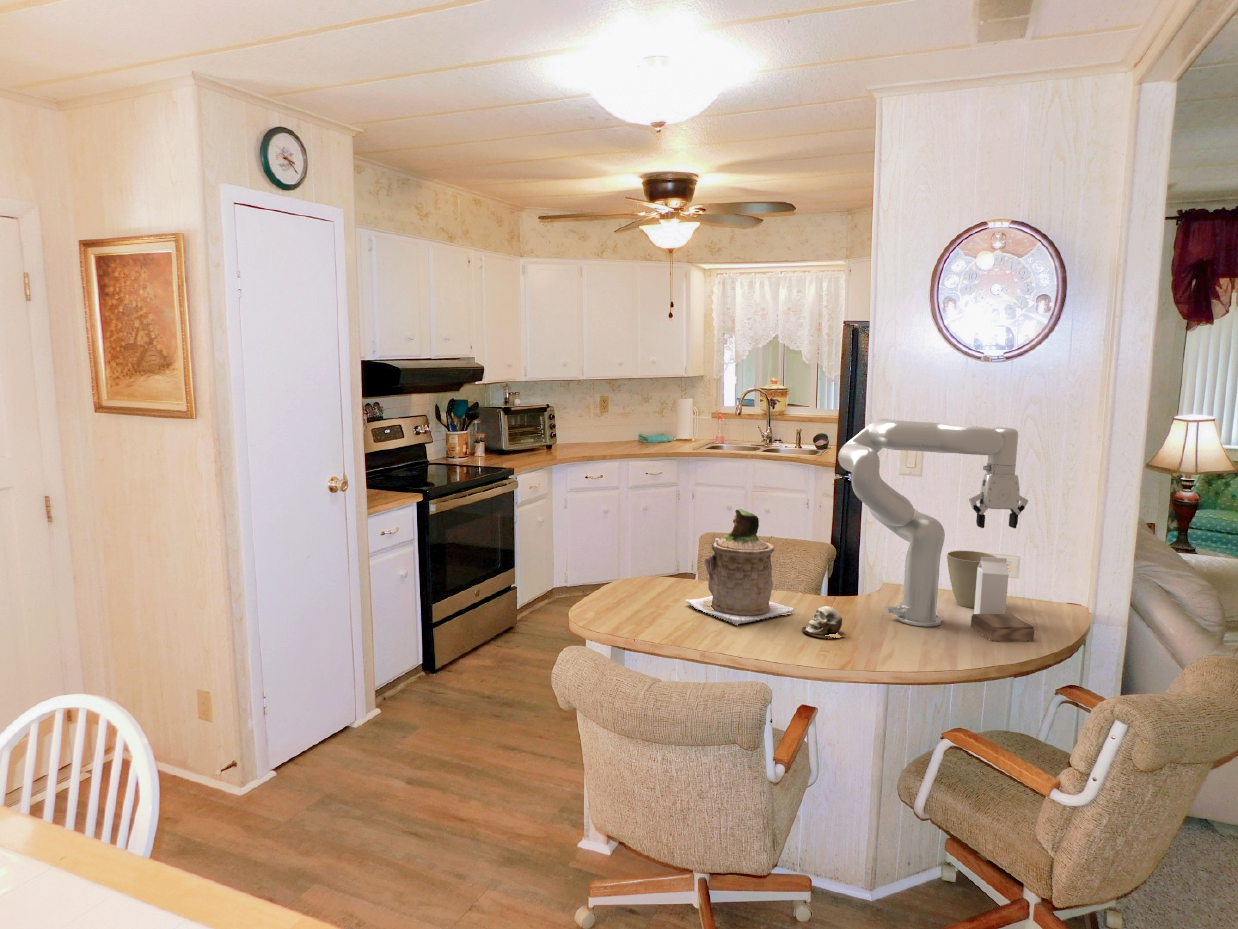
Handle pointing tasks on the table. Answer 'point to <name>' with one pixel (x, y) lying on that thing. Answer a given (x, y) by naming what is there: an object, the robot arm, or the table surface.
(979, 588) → the milk carton
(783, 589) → the table surface
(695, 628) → the table surface
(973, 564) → the plant pot
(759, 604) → the cookie jar
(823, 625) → the skull
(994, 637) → the block
